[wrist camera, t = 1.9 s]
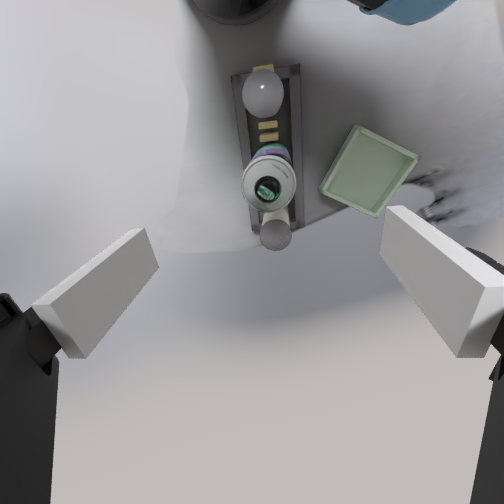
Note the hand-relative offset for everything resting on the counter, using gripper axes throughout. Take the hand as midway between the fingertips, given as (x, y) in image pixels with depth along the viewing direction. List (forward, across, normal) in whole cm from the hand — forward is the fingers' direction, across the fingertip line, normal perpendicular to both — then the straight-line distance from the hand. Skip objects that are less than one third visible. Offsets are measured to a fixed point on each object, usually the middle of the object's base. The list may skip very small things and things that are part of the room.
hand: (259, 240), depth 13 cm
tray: (+29, +14, -3) cm, 32 cm away
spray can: (+29, 0, 0) cm, 29 cm away
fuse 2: (+29, 0, -8) cm, 30 cm away
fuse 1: (+29, 0, +8) cm, 30 cm away
